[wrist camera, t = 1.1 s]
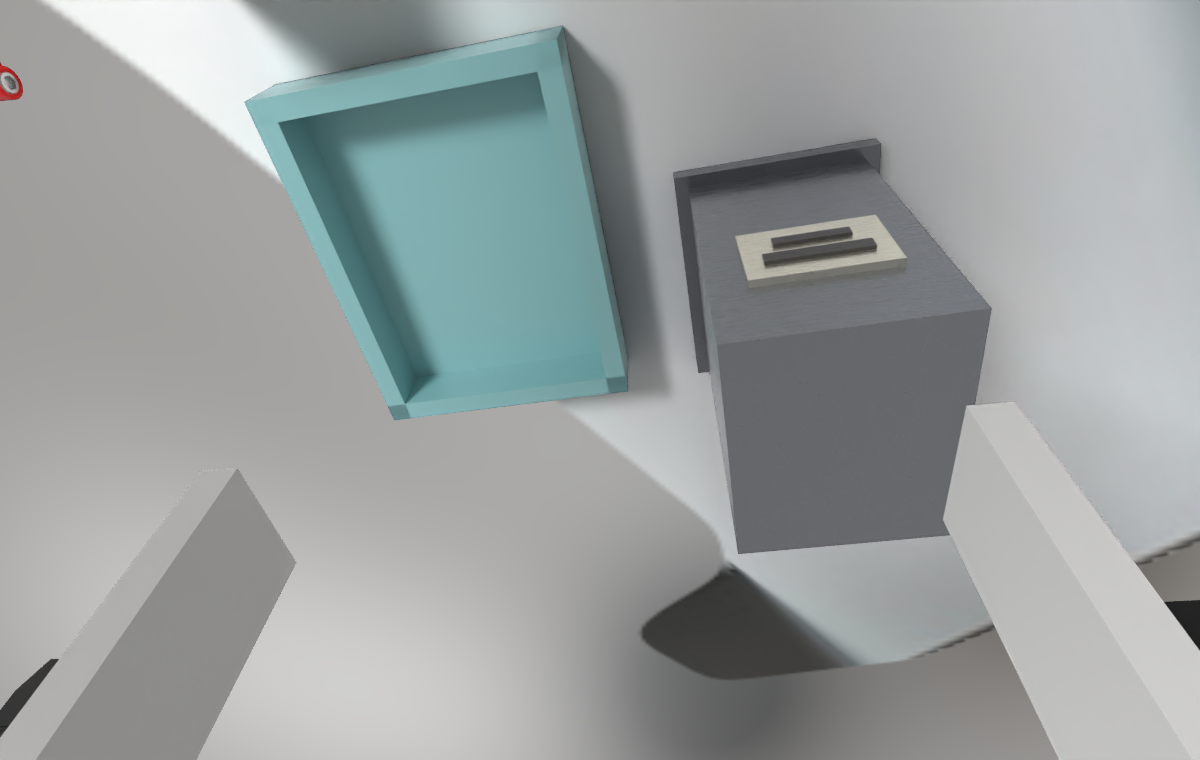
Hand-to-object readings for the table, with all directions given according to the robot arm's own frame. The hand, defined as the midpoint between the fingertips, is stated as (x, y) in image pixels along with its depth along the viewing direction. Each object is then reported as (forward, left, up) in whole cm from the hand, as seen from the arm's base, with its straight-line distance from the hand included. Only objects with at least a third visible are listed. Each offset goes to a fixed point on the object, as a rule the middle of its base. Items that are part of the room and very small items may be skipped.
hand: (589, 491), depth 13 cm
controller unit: (+8, +7, -23) cm, 25 cm away
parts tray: (+4, -8, -23) cm, 24 cm away
